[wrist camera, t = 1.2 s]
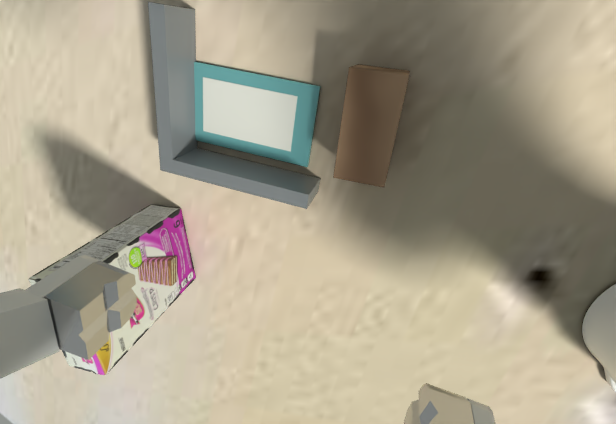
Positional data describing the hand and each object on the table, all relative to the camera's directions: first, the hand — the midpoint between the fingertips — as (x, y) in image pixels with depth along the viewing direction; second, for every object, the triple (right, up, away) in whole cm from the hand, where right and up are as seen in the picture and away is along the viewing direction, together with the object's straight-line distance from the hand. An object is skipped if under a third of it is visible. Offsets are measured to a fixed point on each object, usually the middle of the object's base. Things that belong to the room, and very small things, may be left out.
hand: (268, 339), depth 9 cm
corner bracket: (-4, +14, +25) cm, 29 cm away
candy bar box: (-17, 0, +36) cm, 40 cm away
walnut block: (+7, +12, +22) cm, 26 cm away
